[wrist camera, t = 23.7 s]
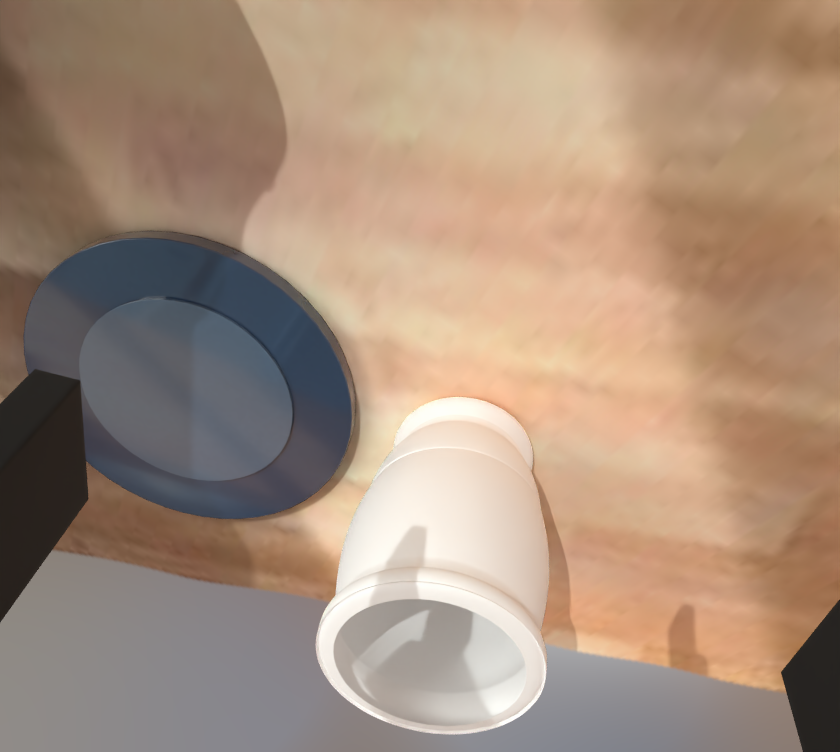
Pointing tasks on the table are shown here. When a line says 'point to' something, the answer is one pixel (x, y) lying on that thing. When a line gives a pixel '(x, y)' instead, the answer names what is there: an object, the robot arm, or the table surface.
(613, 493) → the table surface
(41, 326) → the plate
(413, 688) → the jar
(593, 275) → the table surface
